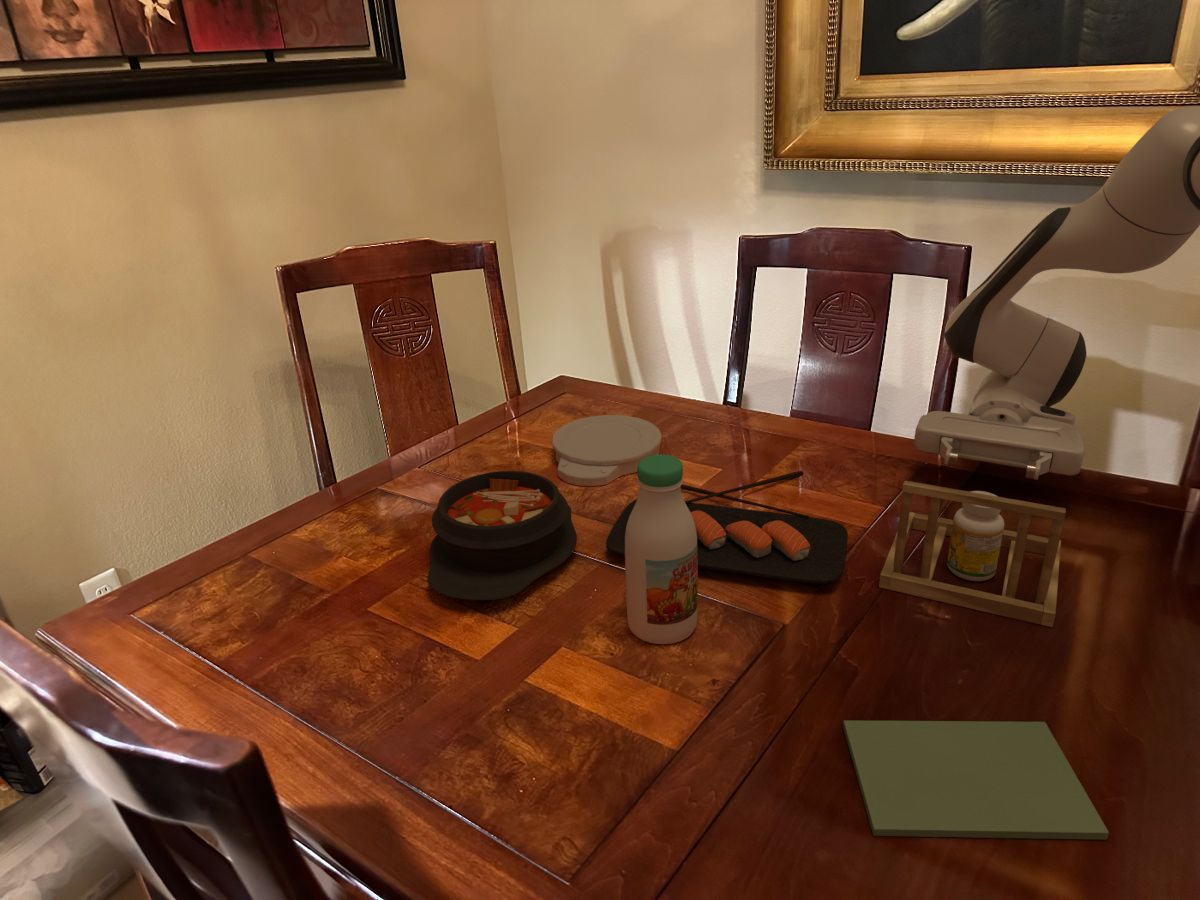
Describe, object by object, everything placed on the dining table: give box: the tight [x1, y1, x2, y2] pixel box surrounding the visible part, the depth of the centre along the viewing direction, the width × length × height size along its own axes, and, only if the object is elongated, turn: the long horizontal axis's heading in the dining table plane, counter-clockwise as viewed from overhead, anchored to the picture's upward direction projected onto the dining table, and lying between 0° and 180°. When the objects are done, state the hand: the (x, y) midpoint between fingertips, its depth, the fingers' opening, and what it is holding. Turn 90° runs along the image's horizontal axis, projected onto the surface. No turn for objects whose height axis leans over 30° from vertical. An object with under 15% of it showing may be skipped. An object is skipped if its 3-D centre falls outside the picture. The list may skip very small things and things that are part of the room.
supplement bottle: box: [946, 490, 1005, 582], centre depth 98 cm, size 5×5×10 cm
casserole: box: [426, 470, 578, 601], centre depth 105 cm, size 25×19×8 cm
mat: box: [842, 719, 1110, 841], centre depth 72 cm, size 18×12×1 cm, turn 87°
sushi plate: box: [605, 470, 849, 585], centre depth 112 cm, size 29×30×4 cm
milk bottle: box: [624, 453, 699, 645], centre depth 89 cm, size 8×8×20 cm
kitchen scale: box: [551, 414, 663, 487], centre depth 131 cm, size 17×20×3 cm
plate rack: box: [878, 480, 1067, 628], centre depth 97 cm, size 16×18×13 cm
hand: (990, 467), depth 106 cm, fingers open, 8 cm apart
